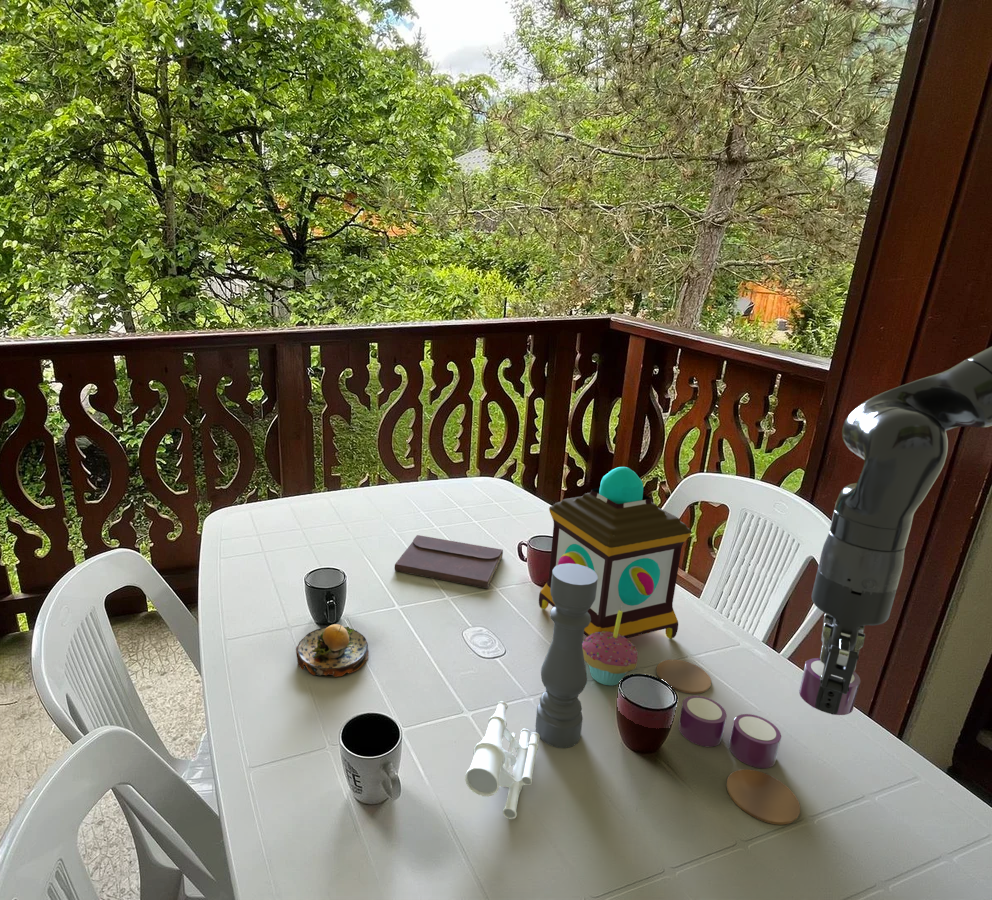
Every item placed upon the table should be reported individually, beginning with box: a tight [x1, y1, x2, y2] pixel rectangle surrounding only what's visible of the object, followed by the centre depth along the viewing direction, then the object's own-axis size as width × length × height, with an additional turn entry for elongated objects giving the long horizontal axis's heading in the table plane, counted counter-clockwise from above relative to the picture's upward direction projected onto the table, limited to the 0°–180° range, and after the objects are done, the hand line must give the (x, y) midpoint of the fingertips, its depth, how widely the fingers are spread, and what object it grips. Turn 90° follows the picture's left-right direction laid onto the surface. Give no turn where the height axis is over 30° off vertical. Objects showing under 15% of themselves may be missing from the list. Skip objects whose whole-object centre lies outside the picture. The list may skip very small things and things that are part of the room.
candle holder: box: [534, 563, 598, 749], centre depth 86 cm, size 6×6×25 cm
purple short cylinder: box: [798, 657, 861, 716], centre depth 78 cm, size 6×6×4 cm
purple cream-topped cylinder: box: [677, 695, 728, 748], centre depth 89 cm, size 6×6×4 cm
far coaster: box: [655, 658, 712, 695], centre depth 101 cm, size 8×8×1 cm
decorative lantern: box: [538, 466, 692, 639], centre depth 111 cm, size 20×20×30 cm
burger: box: [295, 623, 370, 678], centre depth 105 cm, size 12×12×8 cm
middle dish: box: [728, 713, 782, 769], centre depth 85 cm, size 6×6×4 cm
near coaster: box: [726, 768, 801, 826], centre depth 79 cm, size 8×8×1 cm
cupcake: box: [582, 606, 639, 686], centre depth 99 cm, size 9×8×12 cm
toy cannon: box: [464, 700, 541, 820], centre depth 82 cm, size 8×14×5 cm
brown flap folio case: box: [394, 534, 504, 590], centre depth 136 cm, size 15×20×2 cm
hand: (826, 695), depth 78 cm, fingers closed on purple short cylinder, 5 cm apart
